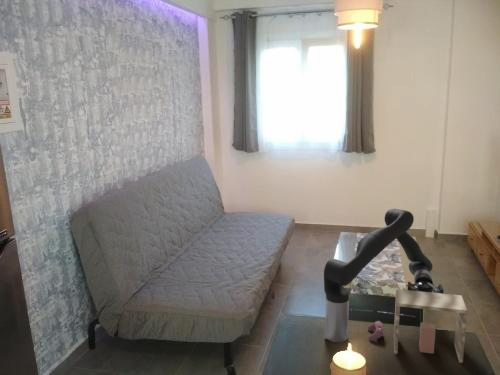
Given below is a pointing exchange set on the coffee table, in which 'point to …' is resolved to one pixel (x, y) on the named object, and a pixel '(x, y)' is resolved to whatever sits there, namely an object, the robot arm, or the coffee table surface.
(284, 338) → the coffee table surface
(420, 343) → the terracotta block
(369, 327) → the mauve looped ornament
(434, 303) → the clear acrylic riser
